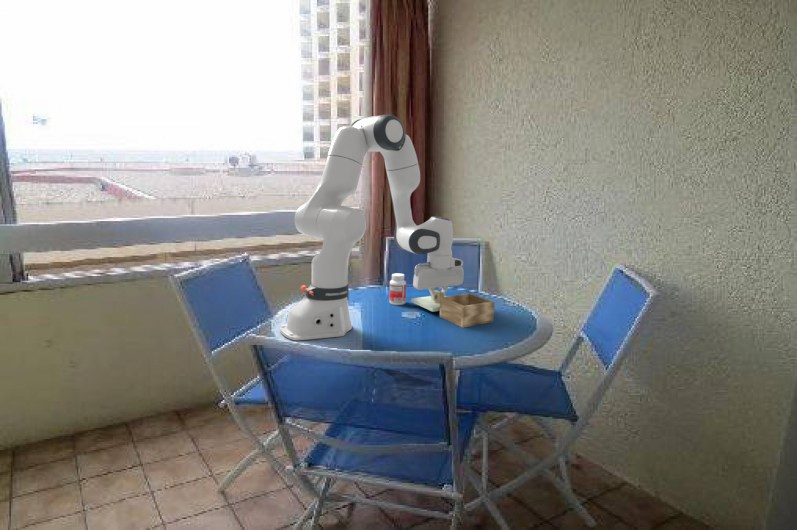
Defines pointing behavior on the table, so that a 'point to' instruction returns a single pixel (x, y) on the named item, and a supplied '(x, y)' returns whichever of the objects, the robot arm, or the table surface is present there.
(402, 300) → the pill bottle
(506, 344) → the table surface
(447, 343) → the table surface
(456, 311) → the box
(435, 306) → the lid
